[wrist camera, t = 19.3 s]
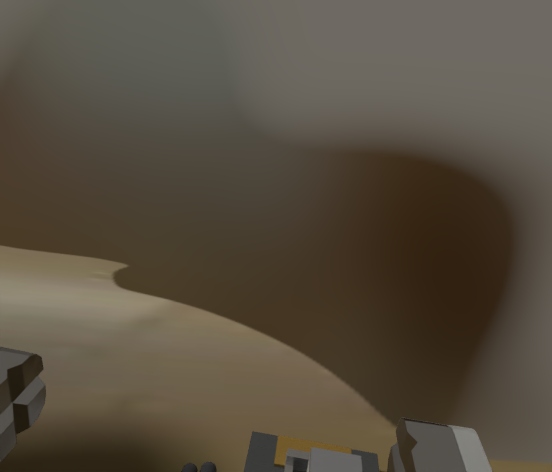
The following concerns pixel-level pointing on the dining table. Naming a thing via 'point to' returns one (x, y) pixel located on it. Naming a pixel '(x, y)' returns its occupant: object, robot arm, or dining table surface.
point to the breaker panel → (293, 454)
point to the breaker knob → (333, 461)
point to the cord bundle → (207, 468)
